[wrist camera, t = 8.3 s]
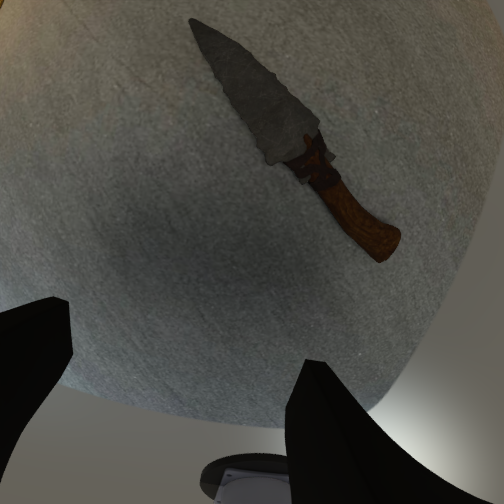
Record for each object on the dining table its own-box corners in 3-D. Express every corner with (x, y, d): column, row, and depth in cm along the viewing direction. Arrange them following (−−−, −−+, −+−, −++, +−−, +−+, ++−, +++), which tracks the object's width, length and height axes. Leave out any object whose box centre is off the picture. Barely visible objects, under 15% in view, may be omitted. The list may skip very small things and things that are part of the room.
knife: (415, 248, 15) (343, 300, 14) (392, 246, 17) (324, 292, 16) (266, -15, 12) (180, 8, 12) (257, 6, 14) (181, 30, 14)
